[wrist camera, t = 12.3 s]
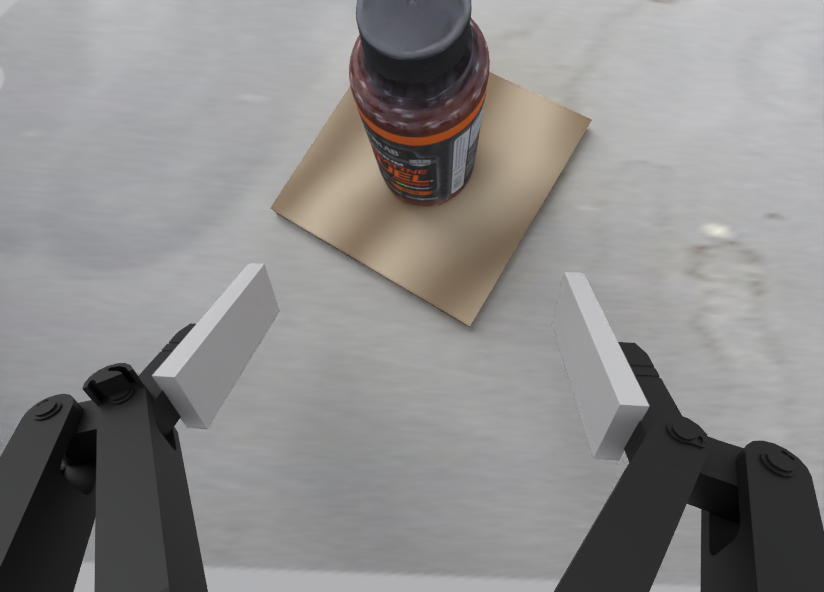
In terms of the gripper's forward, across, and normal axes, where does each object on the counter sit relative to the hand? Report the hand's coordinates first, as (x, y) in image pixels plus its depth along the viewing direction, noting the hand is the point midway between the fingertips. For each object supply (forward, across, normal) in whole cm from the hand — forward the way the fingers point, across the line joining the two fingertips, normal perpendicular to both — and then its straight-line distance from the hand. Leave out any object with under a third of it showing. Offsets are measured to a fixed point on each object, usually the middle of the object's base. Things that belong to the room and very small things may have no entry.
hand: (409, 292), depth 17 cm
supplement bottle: (+11, 0, +2) cm, 11 cm away
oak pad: (+11, 0, +2) cm, 11 cm away
